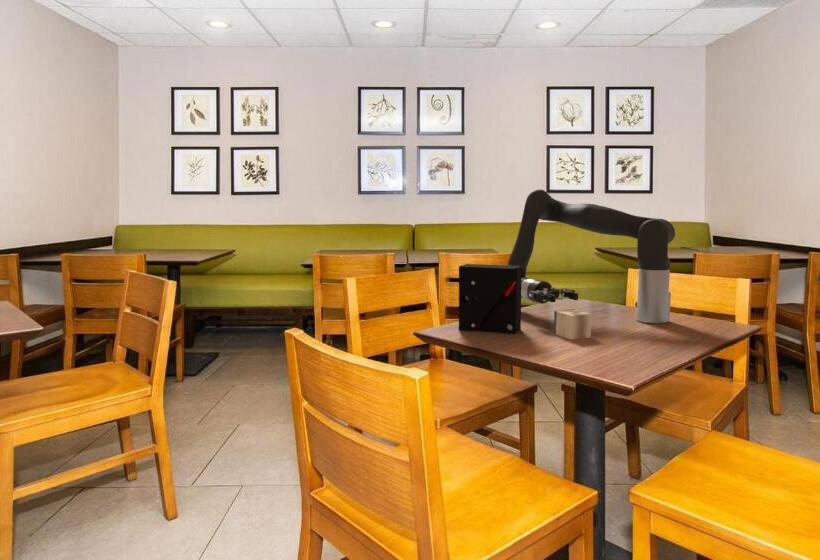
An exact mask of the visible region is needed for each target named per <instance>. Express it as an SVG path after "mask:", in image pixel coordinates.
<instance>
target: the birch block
mask: <svg viewBox="0 0 820 560" xmlns="http://www.w3.org/2000/svg"><path fill="white" fill-rule="evenodd" d="M553 318H554V319H553V334H554V335H557V336H559V337H562V338H565V339H567V340H579V339H580V340H581V339H588V338H591V337H592V336H591V335H592V313H590V312H586V311H582V310H579V309H575V308H571V309H560V310H554V314H553Z"/></svg>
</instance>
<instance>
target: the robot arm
mask: <svg viewBox="0 0 820 560" xmlns="http://www.w3.org/2000/svg"><path fill="white" fill-rule="evenodd" d="M540 220H542V221H547V222H556V223H562V224H566V225H569V226H571V227H575V228H578V229H581V230H585V231H589V232H592V233H597V234H601V235H607V236H608V235H609V236H621V237H629V238H633V239H636V240H637V242H636V243H637V249H636V253H637V254H636V255H637V256H636V257H637V261H638V283H637V301H636V302H637V305H636V321H638V322H640V323H645V324H666V323H668V322H670V317H671V316H670V315H671V297H672V293H671V292H670V272H671V260H670V259H669V256H668V255H669V254H668V253H669V251H668V250H669V249H668V247H669V244H670V243H672V241H673V240H674V239H675V237H676V230H675V227H674V226H673V224H672V223H671V222H670V221H668V220H666V219H663V218H654V217H647V216H638V215H634V214H630V213H627V212H625V211H622V210H618V209H614V208H611V207H608V206H603V205H598V204H595V203H578V204H577V203H574V204H573V203H572V204H571V203H566V202H563V201H560V200H558V199H554V198H553V197H552V196H551V195H550V194H549V193H548V192H547V191H546V190H544V189H540V188H538V189H534V190H533V191H531V192H530V193H529V194H528V195H527V197H526V199H525V203H524V208H523V212H522V218H521V220H520V226H519V229H518V232H517V236H516V240H515V242H514V245H513V247H512V251H511V253H510V256H509V259H508V261H507V265H511V266H522V277H521V299H525V300H527V301H530V302H534V303H538V304H547V303H556V300H557V301H558V300H560V301H561V300H562V301H563V300H564V299H569V300H573V301H579V293H578V292H576V290H575V289H569V288H564V287H561V288H556V287H553V286H552V284H551V283H550V282H548V281H545V280H541V279H537V278H528V277H527V267H528V266H529V265H528V264H529V262H530V259H531V257H532V255H533V253H534V252H533V251H534V247H535V246H534V245H535V238H536V237H535V236H536V231H537V227H538V223H539V221H540Z"/></svg>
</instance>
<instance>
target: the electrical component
mask: <svg viewBox="0 0 820 560" xmlns="http://www.w3.org/2000/svg"><path fill="white" fill-rule="evenodd" d="M521 277H522V266H511V265H508V264H507V265H506V264H503V265H502V264H481V263H479V264H476V263H466V264H462V265H459V266H458V331H461V332H464V331H465V332H483V333H493V334H495V333H496V334H506V335H507V334H508V335H517V334H518V333H519V332H520V331H521V330H522V329H521V328H522V326H521V325H522V297H521Z"/></svg>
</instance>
